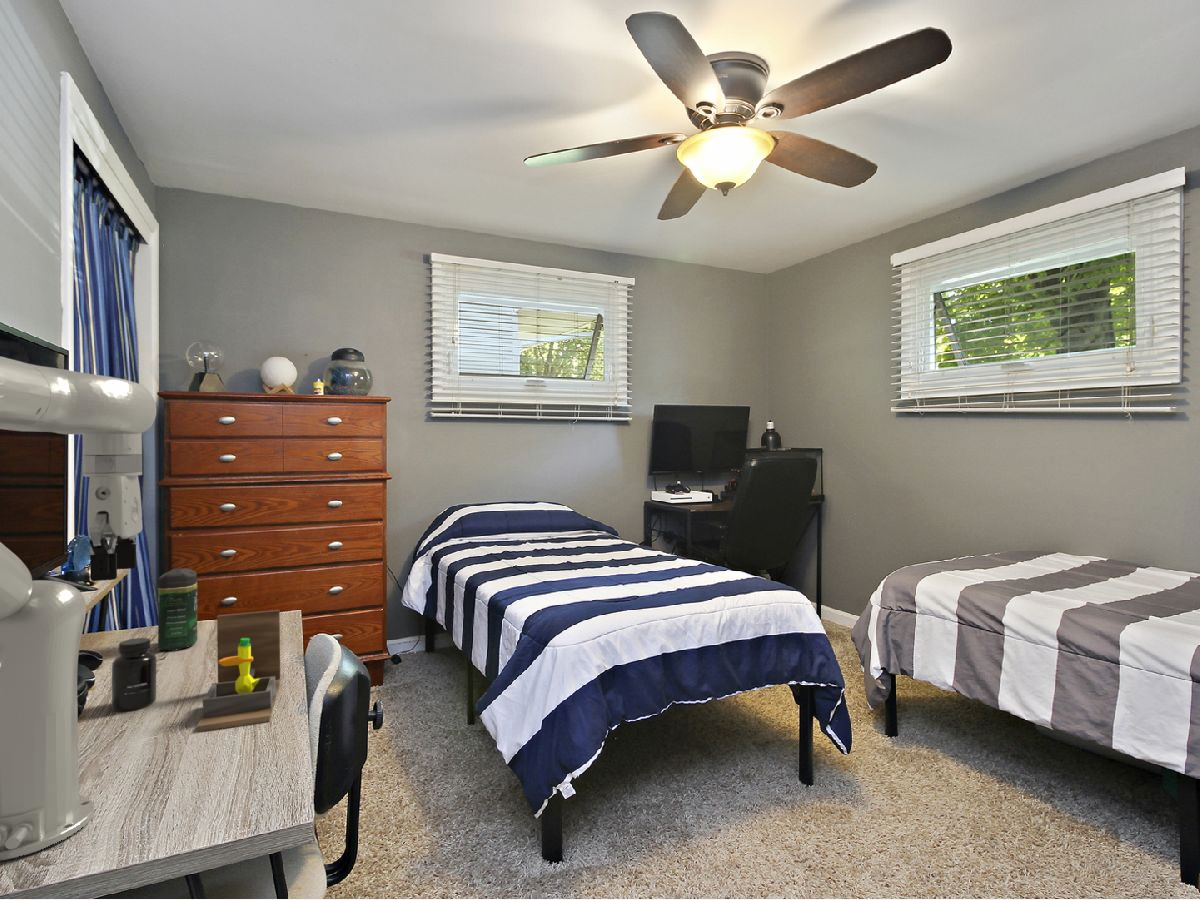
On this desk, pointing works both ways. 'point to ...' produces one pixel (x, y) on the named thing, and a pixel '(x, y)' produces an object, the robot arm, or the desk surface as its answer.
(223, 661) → the toy figure
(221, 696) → the open wooden box
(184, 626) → the coffee jar
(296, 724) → the desk surface
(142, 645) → the supplement bottle
